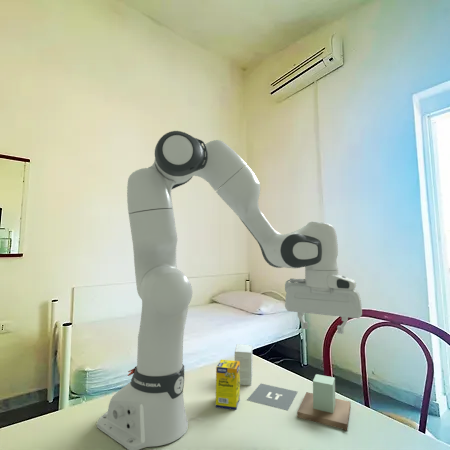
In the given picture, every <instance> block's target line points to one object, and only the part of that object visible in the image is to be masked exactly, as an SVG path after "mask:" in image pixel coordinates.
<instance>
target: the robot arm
mask: <svg viewBox="0 0 450 450" xmlns="http://www.w3.org/2000/svg"><path fill="white" fill-rule="evenodd" d="M194 176H195V177H199V178H202V179H203V180H204V181H206V182H207V183H208V184H209V186H211V187H212V190H214V191H215V193H216V194H217V195H218V196H219V197H220V198H221V199H222V201H223V202H224V203H225V204H226V205H227V206H228V207H229V208H230V210H232V211H233V212H234V213H235V215H236V216H237V217H238V218H239V219H240V221H241V222H242V223H243V225H244V226H245V227H246V229H247V230H248V232H249V233H250V234H251V236H252V237H253V238H254V239H255V240H256V242H257V244H258V245H259V248H260V250H261V254H262V257H263V259H264V260H265V262H266V263H267V264H268V265H269V266H271V267H272V268H277V269H281V268H286V269H300V268H304V273H305V274H304V277H305V278H290V279H288V280H286V281H285V283H284V291H285V300H284V302H285V303H284V307H285V309H286V311H287V312H294V313H297V318H298V320H299V321H300V323H301V329H302V330H308V329H309V321H306V320H305V318H304V317H303V316H304V315H305V314H313V315H320V316H321V315H324V316H332V317H340V318H341V321H342V323H341V324H340V325H337V327H336V328H337V332H336V333H337V334H340V335H344V332H345V330H344V329H345V328H344V327H345V326H346V324H347V323H348V321H349V319H360V318H361V317H362V316H363V307H362V300H361V296H360V293H359V290H357V289H356V287H357V282H356V280H355V279H354V278H350V277H347V276H344V275H341V274H339V267H338V263H337V259H338V256H339V255H338V254H339V249H338V248H339V247H338V236H337V232H336V229H335V227H334V226H333V225H332V224H330V223H327V222H325V221H324V222H323V221H320V222H319V221H310V222H307V224H306V225H304V226H303V227H300V228H299V229H296V230H294V231H292V232H290V233H284V234H283V233H280V232H278V231H277V230H276V229H274V227H273V226H272V224H271V223H270V222H269V220H268V219H267V217H266V216H265V215H264V213H263V211H261V209H260V205H259V199H260V195H261V183H260V182H259V180H258V178H257V176H256V174H255V172H254V171H253V170H252V168H250V166H249V164H247V162H245V160H244V159H243V158H242V157H241V156H240V155H239V153H237V152H236V151H235V150H234V149H233V148H232V147H230V145H228V144H227V143H225V142H224V141H223V140H221V139H220V140H219V139H216V140H211V141H209V142H207V143H206V142H204V141H203V140H202V139H199V138H196V137H194V136H192V135H191V134H189V133H186V132H184V131H180V130H172V131H169V132H166V133H165V134H163V135H162V136H161V137H160V138H159V139H158V141H157V143H156V145H155V149H154V161H153V164H152V165H150V166H148V167H143V168H139V169H136V170H135V171H133V172H132V173H131V174H130V175H129V176H128V178H127V186H126V189H127V190H126V198H127V200H126V201H127V212H128V219H129V220H128V221H129V227H130V234H131V239H132V240H131V242H132V249H133V251H132V252H133V263H134V275H135V283H136V290H137V291H136V292H137V295H138V296H139V298H140V299H141V314H140V316H141V317H140V324H139V331H138V335H137V356H136V357H137V358H136V366H135V367H134V368H132V369H130V370H128V371H127V372H128V374H127V376H128V377H130V376H131V375H132V377H131V380H130V381H129V382H128V383H127V384H125V385H124V386H123V387H122V388H121V389H119V390H118V391H116V393H115V394H113V396H112V397H111V398H110V401H109V403H108V408H107V411H106V412H105V413H103V415H101V416H100V418H99V419H98V420H97V421H96V428H98V429H99V430H100V431H101V432H103V433H105V434H106V435H107V436H108V437H110V438H112V439H113V440H114V441H116V442H117V443H119V444H120V445H121V446H123V447H124V448H126V450H142V449H144V448H151V447H158V446H163V445H169V444H171V443H173V442H176V441H177V440H178V439H180V438H181V437H183V436H184V435H185V433H186V432H187V431H188V428H189V420H188V418H187V412H186V408H185V407H186V406H185V400H184V386H185V365H184V363H183V361H184V335H185V334H184V333H185V326H186V322H187V321H186V320H187V317H188V311H189V305H190V304H191V302H192V298H193V287H192V284H191V282H190V279H189V278H188V277H187V275H186V274H185V273H184V272H183V271H182V270H181V269H178V267H177V245H178V233H177V227H176V221H175V214H174V207H173V201H172V190H174V189H176V188H178V187H181V186H183V185H185V184H187V183H188V182H190V180H192V178H193V177H194Z"/></svg>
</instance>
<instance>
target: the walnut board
mask: <svg viewBox="0 0 450 450" xmlns="http://www.w3.org/2000/svg"><path fill="white" fill-rule="evenodd" d="M351 404H352V403H351V401H349V400H345V399H339V398H336V397H335V408H334V412H333V413H330V412H326V411H321V410H317V409H313V392H306V393H305V395H304V397H303V399H302V400H301V403H300V405H299V407H298V409H297V412H296V417H297V418H299V419H303V420H307V421H311V422H315V423H317V424H322V425H327V426H330V427H333V428H338V429H341V430H343V431H348V429H349V421H350V413H351Z"/></svg>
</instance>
